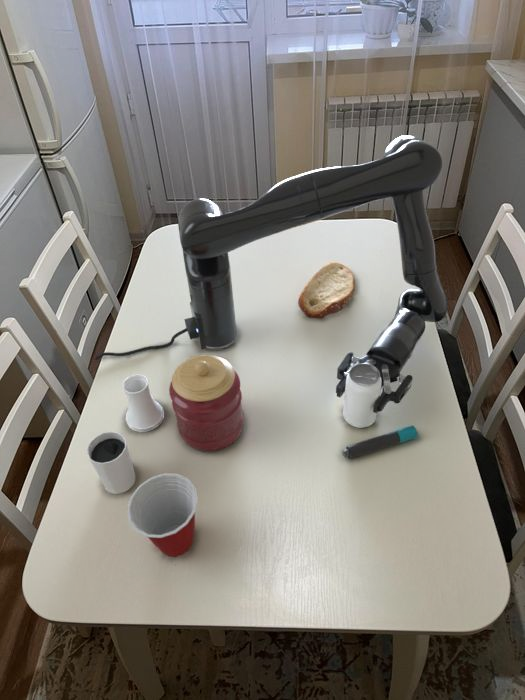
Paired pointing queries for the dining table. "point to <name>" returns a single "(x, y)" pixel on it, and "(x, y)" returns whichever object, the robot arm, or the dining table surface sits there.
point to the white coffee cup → (112, 461)
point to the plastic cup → (165, 512)
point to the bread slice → (327, 291)
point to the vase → (141, 405)
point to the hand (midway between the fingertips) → (356, 401)
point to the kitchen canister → (207, 402)
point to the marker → (380, 442)
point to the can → (361, 395)
